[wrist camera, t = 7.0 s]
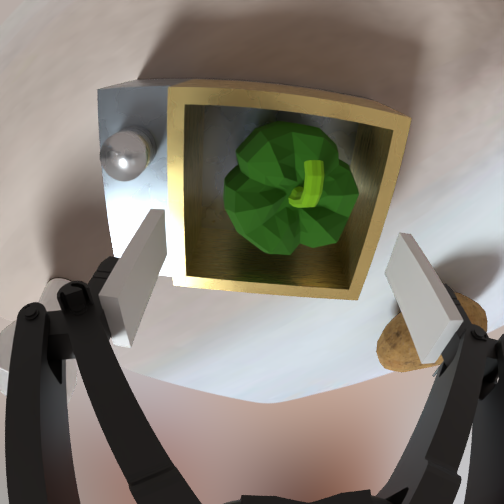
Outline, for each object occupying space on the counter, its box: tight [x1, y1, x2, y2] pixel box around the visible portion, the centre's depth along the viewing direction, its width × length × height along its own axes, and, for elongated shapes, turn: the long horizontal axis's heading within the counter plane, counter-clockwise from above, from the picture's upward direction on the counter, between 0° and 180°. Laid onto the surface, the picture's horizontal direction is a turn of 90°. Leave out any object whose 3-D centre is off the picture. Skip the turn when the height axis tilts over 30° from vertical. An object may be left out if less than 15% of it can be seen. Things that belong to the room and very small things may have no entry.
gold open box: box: [98, 78, 411, 300], centre depth 22 cm, size 19×14×9 cm
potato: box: [376, 292, 487, 372], centre depth 32 cm, size 10×14×8 cm
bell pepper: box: [223, 121, 359, 255], centre depth 20 cm, size 8×8×10 cm
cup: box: [0, 278, 78, 404], centre depth 30 cm, size 11×11×15 cm
